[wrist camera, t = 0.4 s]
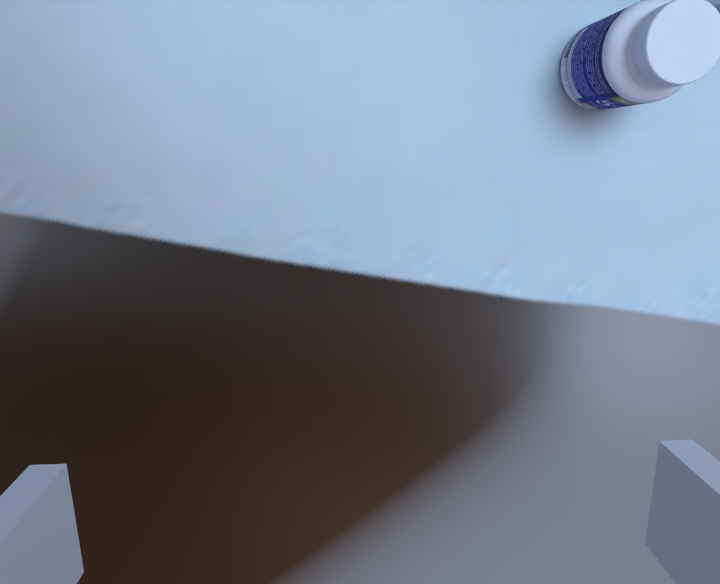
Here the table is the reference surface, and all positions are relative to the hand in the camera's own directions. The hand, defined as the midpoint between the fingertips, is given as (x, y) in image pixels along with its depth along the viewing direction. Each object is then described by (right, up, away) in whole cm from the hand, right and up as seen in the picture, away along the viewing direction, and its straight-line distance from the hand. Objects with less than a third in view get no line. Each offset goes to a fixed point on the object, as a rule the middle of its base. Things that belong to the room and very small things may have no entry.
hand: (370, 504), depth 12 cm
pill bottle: (+15, +19, +23) cm, 34 cm away
